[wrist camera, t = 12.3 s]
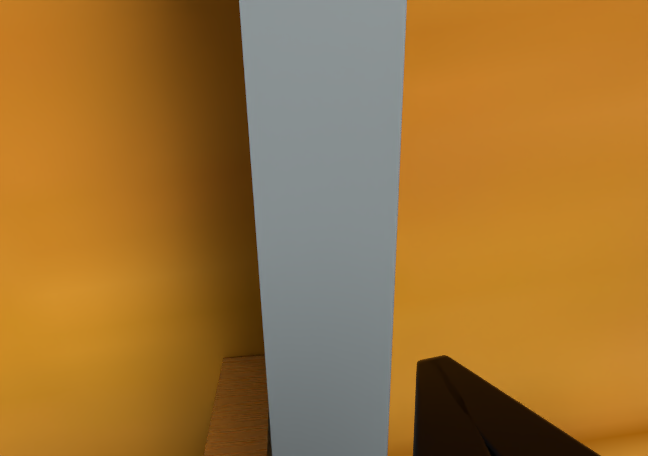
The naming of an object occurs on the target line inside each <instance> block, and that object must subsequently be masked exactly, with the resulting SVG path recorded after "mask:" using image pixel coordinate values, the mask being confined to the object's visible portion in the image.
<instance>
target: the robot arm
mask: <svg viewBox="0 0 648 456" xmlns="http://www.w3.org/2000/svg"><path fill="white" fill-rule="evenodd" d="M413 456H600V455H599V454H597V453H596V452H594V451H593V450H591V449H590V448H588V447H586V446H585V445H583V444H582V443H580V442H579V441H577V440H576V439H574V438H573V437H571V436H570V435H568V434H567V433H565V432H563V431H562V430H560V429H559V428H557V427H556V426H554V425H553V424H551V423H550V422H548V421H547V420H545V419H544V418H542V417H540V416H539V415H537V414H536V413H534V412H533V411H531V410H530V409H528V408H527V407H525V406H524V405H522V404H521V403H519V402H518V401H516V400H514V399H513V398H511V397H510V396H508V395H507V394H505V393H504V392H502V391H501V390H499V389H498V388H496V387H495V386H493V385H491V384H490V383H488V382H487V381H485V380H484V379H482V378H481V377H479V376H478V375H476V374H475V373H473V372H472V371H470V370H468V369H467V368H465V367H464V366H462V365H461V364H459V363H458V362H456V361H455V360H453V359H452V358H450V357H448V356H446V355H442V356H438V357H433V358H428V359H424V360H420V361H418V362H417V371H416V395H415V420H414V444H413Z"/></svg>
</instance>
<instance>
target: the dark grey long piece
mask: <svg viewBox="0 0 648 456" xmlns="http://www.w3.org/2000/svg"><path fill="white" fill-rule="evenodd" d="M204 456H272V444H271V431H270V417H269V403H268V390H267V376H266V362H265V355H261V356H248V357H236V358H223V363H222V368H221V373H220V377H219V382H218V387H217V392H216V397H215V402H214V407H213V412H212V417H211V422H210V427H209V432H208V437H207V442H206V447H205V452H204Z"/></svg>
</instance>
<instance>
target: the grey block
mask: <svg viewBox="0 0 648 456" xmlns="http://www.w3.org/2000/svg"><path fill="white" fill-rule="evenodd" d="M239 6H240V20H241V33H242V47H243V61H244V75H245V88H246V102H247V116H248V129H249V143H250V157H251V170H252V184H253V198H254V212H255V225H256V239H257V253H258V266H259V280H260V294H261V307H262V321H263V335H264V348H265V362H266V376H267V390H268V403H269V417H270V431H271V444H272V456H387V449H388V426H389V402H390V379H391V356H392V332H393V309H394V286H395V263H396V239H397V216H398V193H399V169H400V146H401V123H402V100H403V76H404V53H405V30H406V7H407V0H239Z"/></svg>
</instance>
